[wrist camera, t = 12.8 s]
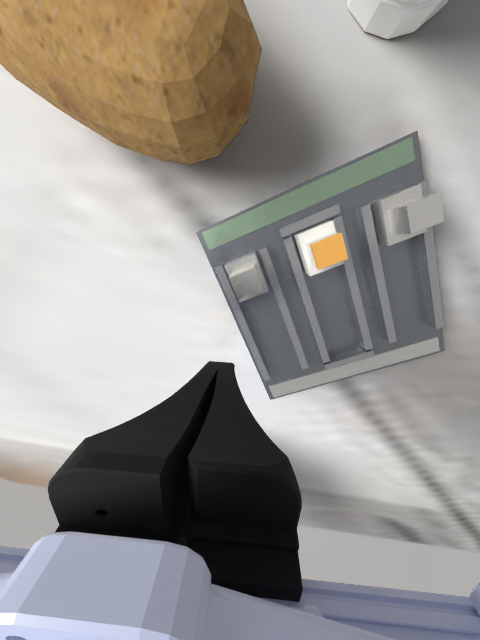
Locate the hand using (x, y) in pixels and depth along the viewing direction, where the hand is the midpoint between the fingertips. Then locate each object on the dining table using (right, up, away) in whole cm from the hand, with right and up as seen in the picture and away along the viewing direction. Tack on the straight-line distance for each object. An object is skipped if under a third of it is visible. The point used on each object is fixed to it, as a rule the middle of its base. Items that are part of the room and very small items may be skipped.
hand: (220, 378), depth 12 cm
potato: (-5, +19, +4) cm, 20 cm away
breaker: (+7, +9, +5) cm, 12 cm away
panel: (+8, +6, +8) cm, 13 cm away
